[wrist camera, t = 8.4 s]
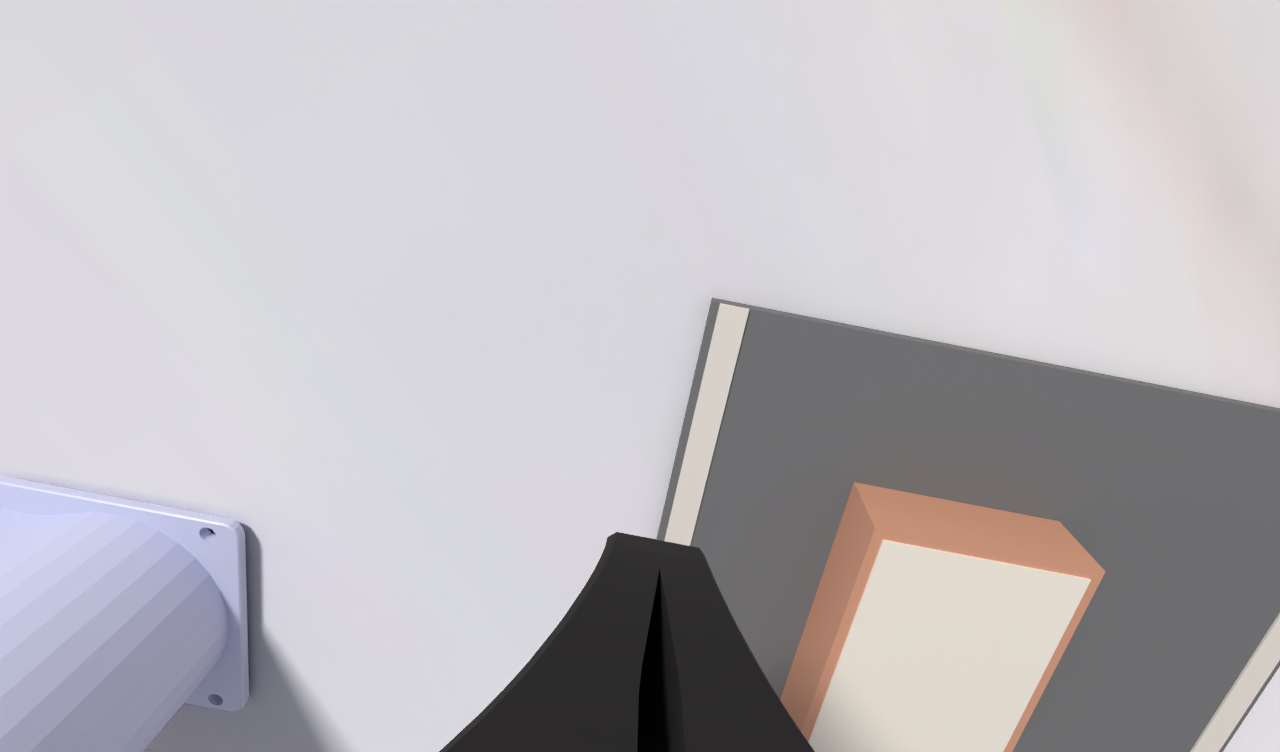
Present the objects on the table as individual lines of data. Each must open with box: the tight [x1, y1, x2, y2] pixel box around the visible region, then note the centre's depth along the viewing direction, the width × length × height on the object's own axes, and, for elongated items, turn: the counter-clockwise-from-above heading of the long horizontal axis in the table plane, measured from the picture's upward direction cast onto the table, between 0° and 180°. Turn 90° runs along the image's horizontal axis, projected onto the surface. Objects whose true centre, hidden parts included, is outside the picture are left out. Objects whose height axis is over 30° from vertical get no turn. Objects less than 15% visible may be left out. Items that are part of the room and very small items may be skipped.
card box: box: [780, 482, 1105, 752], centre depth 21 cm, size 2×9×6 cm
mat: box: [657, 298, 1280, 752], centre depth 22 cm, size 20×18×1 cm
